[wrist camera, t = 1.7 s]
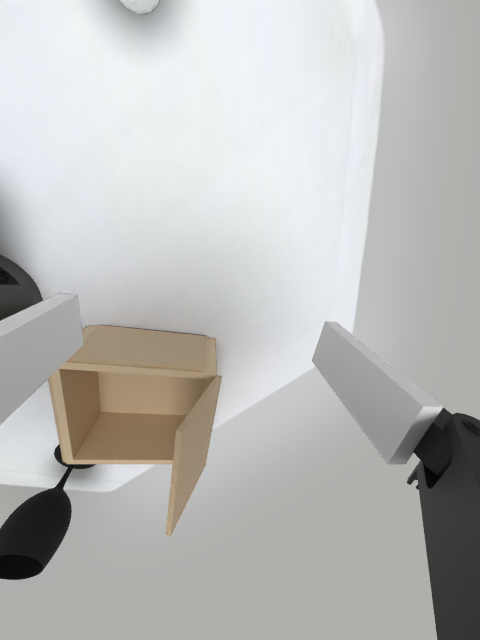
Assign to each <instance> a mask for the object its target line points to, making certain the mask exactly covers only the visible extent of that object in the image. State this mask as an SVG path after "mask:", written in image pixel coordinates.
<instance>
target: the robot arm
mask: <svg viewBox="0 0 480 640" xmlns="http://www.w3.org/2000/svg"><path fill="white" fill-rule="evenodd" d="M83 344H84V343H83V335H82V327H81V319H80V311H79V303H78V295H75V294H66V293H58V294H56V295H54V296H52V297H50V298H48V299H46V300H44V301H42V300H41V296H40V293H39V291H38V288H37V287H36V285H35V283H34V282H33V280H32V279H31V278H30V277H29V276H28V274H27V273H26V272H25V271H23V270H22V269H21V268H20V267H19V266H17V265H16V264H15V263H13V262H12V261H10V260H8V259H6V258H5V257H3V256H0V425H1V424H2V423H3V422H4V421H5V420H6V419H7V418H8V417H9V416H10V415H11V414H12V413H13V412H14V411H15V410H16V409H17V408H18V407H19V406H20V405H21V404H22V403H23V402H24V401H25V400H26V399H27V398H29V397H30V396H31V395H32V394H33V393H34V392H35V391H36V390H37V389H38V388H39V387H40V386H41V385H42V384H43V383H44V382H45V381H46V380H47V379H48V378H49V377H50V376H51V375H52V374H53V373H54V372H55V371H56V370H58V369H59V368H60V367H61V366H62V365H63V364H64V363H65V362H66V361H67V360H68V359H69V358H70V357H71V356H72V355H73V354H74V353H75V352H76V351H77V350H78V349H79V348H80V347H81V346H82V345H83ZM312 362H313V363H314V364H315V366H316V367H317V368H318V370H319V371H320V372H321V374H322V375H323V377H324V378H325V379H326V381H327V382H328V383H329V385H330V386H331V388H332V389H333V390H334V392H335V393H336V394H337V396H338V397H339V399H340V400H341V401H342V403H343V404H344V405H345V407H346V408H347V410H348V411H349V412H350V414H351V415H352V416H353V418H354V419H355V420H356V422H357V423H358V425H359V426H360V427H361V429H362V430H363V431H364V433H365V434H366V436H367V437H368V438H369V440H370V441H371V442H372V444H373V445H374V447H375V448H376V449H377V451H378V452H379V453H380V455H381V456H382V457H383V459H384V460H385V462H386V463H387V464H406V463H407V461H408V460H409V458H410V457H411V455H412V454H413V452H414V453H415V454H416V455H417V457H418V458H419V459H420V460H421V461H420V462H419V464H418V465H417V466H416V468H415V469H414V471H413V472H412V474H411V475H410V476H409V478H408V481H407V483H408V484H410V485H411V484H412V482H413V481H414V480H418V485H417V486H416V488H417V489H419V494H420V501H421V509H422V518H423V526H424V534H425V542H426V550H427V558H428V566H429V574H430V582H431V590H432V599H433V606H434V614H435V623H436V631H437V639H438V640H480V420H478V419H476V418H474V417H471V416H468V415H465V414H461V413H455V414H453V415H452V414H451V413H449V412H448V411H447V410H446V409H445V408H443V407H442V406H441V405H440V404H439V403H438V402H436V401H435V400H434V399H432V398H431V397H430V396H429V395H427V394H426V393H425V392H424V391H422V390H421V389H420V388H418V387H417V386H416V385H415V384H414V383H412V382H411V381H410V380H409V379H407V378H406V377H405V376H404V375H402V374H401V373H400V372H399V371H397V370H396V369H395V368H394V367H392V366H391V365H390V364H388V363H387V362H386V361H384V360H383V359H382V358H381V357H380V356H378V355H377V354H376V353H374V352H373V351H372V350H371V349H370V348H368V347H367V346H366V345H365V344H363V343H362V342H361V341H360V340H358V339H357V338H356V337H355V336H353V335H352V334H351V333H349V332H348V331H347V330H346V329H344V328H343V327H342V326H341V325H339V324H338V323H337V322H327V321H325V323H324V326H323V329H322V332H321V335H320V338H319V341H318V344H317V347H316V350H315V353H314V356H313V359H312Z"/></svg>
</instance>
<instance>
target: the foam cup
mask: <svg viewBox="0 0 480 640" xmlns="http://www.w3.org/2000/svg"><path fill="white" fill-rule="evenodd" d="M120 2H121V3H122V4H123V5H124V6H125V7H126V8H127V9H129V10H131V11H133V12H135V13H137V14H143V13H150V12H151V11H152V10H153V9H154V8H155V7H156V6H157V5H158V4H159V0H120Z"/></svg>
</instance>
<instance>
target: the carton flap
mask: <svg viewBox="0 0 480 640" xmlns="http://www.w3.org/2000/svg"><path fill="white" fill-rule="evenodd" d="M221 377H222V376H219V375H217V376H216V377H215V378H214V380H213V381H212V382H211V384H210V385H209V386H208V388H207V389H206V391H205V392H204V393H203V395H202V396H201V397H200V399H199V400H198V401H197V403H196V404H195V405H194V407H193V408H192V409H191V411H190V412H189V413H188V415H187V416H186V417H185V419H184V420H183V422H182V423H181V424H180V426H179V427H178V428H177V430H176V436H175V446H174V456H173V466H172V476H171V487H170V496H169V506H168V516H167V527H166V534H167V535H169V536H171V534H172V532H173V530H174V528H175V526H176V524H177V522H178V520H179V518H180V516H181V514H182V512H183V510H184V508H185V506H186V503H187V502H188V499H189V498H190V495H191V494H192V491H193V490H194V488H195V485H196V483H197V482H198V480H199V477H200V475H201V473H202V471H203V469H204V467H205V465H206V459H207V453H208V448H209V443H210V437H211V432H212V427H213V421H214V416H215V410H216V405H217V399H218V394H219V388H220V383H221Z"/></svg>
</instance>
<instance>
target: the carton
mask: <svg viewBox="0 0 480 640" xmlns="http://www.w3.org/2000/svg"><path fill="white" fill-rule="evenodd" d="M82 335H83V343H84V344H83V345H82V346H81V347H80V348H79V349H78V350H77V351H76V352H75V353H74V354H73V355H72V356H71V357H70V358H69V359H68V360H67V361H66V362H65V363H64V364H63V365H62V366H61V367H60V368H59V369H58V370H56V371H55V372H54V373H53V374H52V375H51V376H50V377H49V378H48V381H49V387H50V393H51V398H52V404H53V409H54V415H55V421H56V426H57V432H58V437H59V443H60V449H61V454H62V460H63V462H66V464H173V456H174V446H175V436H176V430H177V428H178V427H179V426H180V424H181V423H182V422H183V420H184V419H185V417H186V416H187V415H188V413H189V412H190V411H191V409H192V408H193V407H194V405H195V404H196V403H197V401H198V400H199V399H200V397H201V396H202V395H203V393H204V392H205V391H206V389H207V388H208V386H209V385H210V384H211V382H212V381H213V380H214V378H215V377H216V375H217V368H216V343H215V338H207V337H206V336H202V335H192V334H182V333H173V332H163V331H154V330H144V329H135V328H125V327H116V326H106V325H99V326H91V325H90V326H89V327H87V326H86V327H85V328H84V329H83V330H82Z"/></svg>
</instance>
